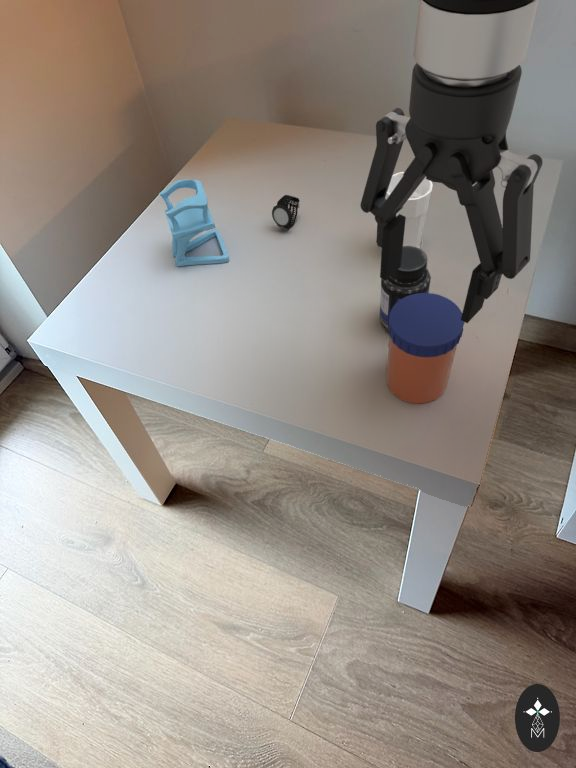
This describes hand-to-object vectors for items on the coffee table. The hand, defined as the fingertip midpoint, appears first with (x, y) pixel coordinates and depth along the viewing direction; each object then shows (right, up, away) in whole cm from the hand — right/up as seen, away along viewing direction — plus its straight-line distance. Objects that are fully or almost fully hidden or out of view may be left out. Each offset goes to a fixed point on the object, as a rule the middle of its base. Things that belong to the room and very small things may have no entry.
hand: (429, 292), depth 56 cm
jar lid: (0, -3, +3) cm, 4 cm away
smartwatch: (-14, +16, +33) cm, 39 cm away
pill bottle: (+1, -1, +18) cm, 18 cm away
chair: (-29, +11, +31) cm, 44 cm away
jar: (+1, -9, +12) cm, 15 cm away
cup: (+3, +11, +27) cm, 29 cm away
